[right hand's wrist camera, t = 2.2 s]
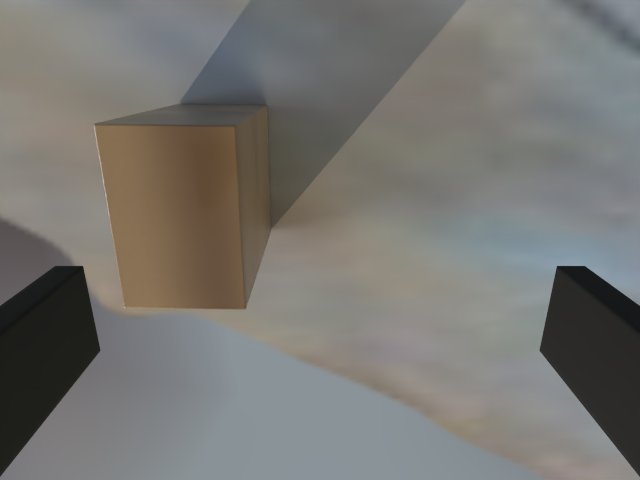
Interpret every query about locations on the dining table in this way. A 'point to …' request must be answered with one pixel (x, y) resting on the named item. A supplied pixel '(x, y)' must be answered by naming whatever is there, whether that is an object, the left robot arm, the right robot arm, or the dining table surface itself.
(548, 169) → the dining table surface
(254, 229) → the block
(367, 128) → the dining table surface
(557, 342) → the right robot arm
